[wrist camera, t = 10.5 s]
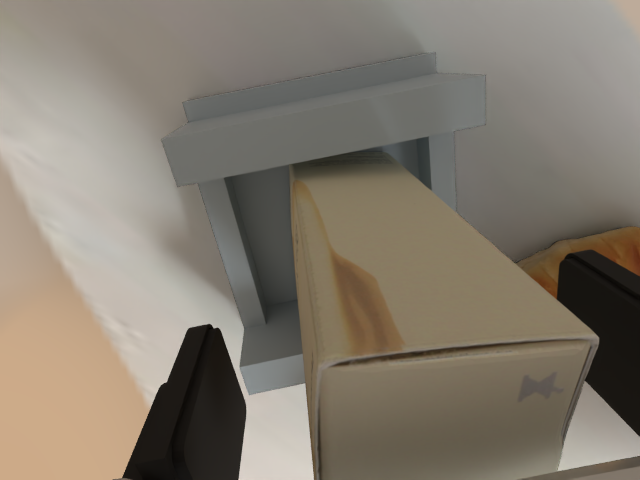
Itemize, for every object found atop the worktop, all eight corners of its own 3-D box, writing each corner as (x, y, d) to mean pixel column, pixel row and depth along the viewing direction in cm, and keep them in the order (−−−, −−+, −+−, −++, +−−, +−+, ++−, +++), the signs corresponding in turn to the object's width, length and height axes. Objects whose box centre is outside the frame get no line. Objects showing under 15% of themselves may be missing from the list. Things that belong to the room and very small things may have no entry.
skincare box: (286, 153, 16) (306, 343, 5) (389, 148, 17) (618, 317, 5) (294, 287, 19) (320, 606, 8) (383, 281, 19) (529, 577, 8)
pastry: (624, 186, 20) (699, 212, 16) (655, 277, 22) (725, 317, 19) (462, 285, 21) (499, 329, 18) (509, 360, 24) (549, 411, 20)
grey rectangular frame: (426, 53, 16) (485, 47, 12) (440, 295, 21) (485, 358, 17) (187, 100, 16) (152, 113, 11) (258, 333, 21) (253, 407, 16)
